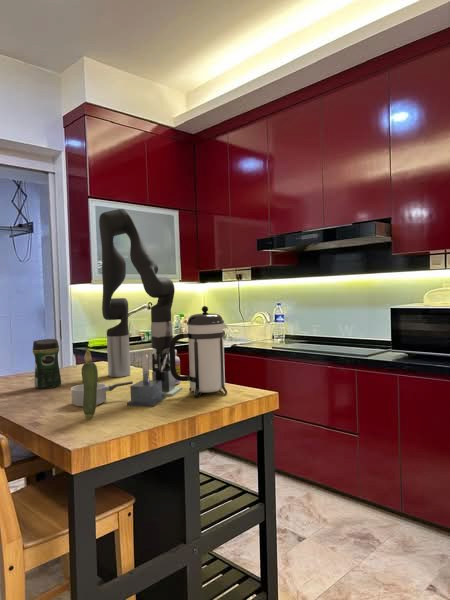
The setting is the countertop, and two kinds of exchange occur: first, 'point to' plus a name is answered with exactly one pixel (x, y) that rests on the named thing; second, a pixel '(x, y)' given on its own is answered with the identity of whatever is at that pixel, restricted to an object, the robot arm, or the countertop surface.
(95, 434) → the countertop surface
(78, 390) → the saucepan
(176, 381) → the supplement bottle
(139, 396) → the grey peg stand
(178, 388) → the pad
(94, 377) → the vegetable
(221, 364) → the coffee press
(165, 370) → the collar
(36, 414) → the countertop surface
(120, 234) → the robot arm
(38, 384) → the coffee jar
